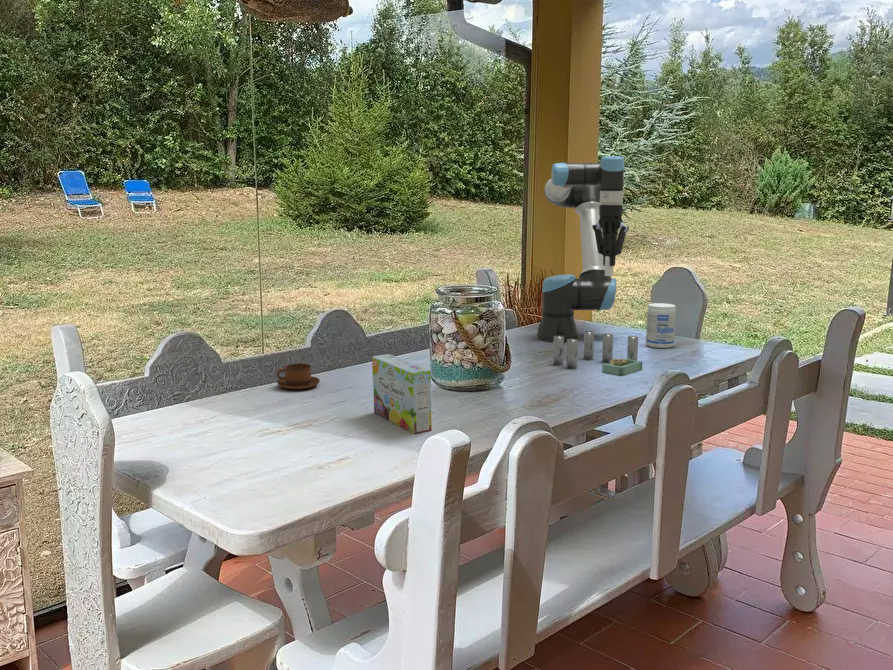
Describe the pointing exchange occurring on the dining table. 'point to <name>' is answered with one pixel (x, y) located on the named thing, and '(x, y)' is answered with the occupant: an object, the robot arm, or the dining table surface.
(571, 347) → the spacers
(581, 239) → the robot arm
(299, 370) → the cup and saucer
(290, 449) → the dining table surface
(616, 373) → the tray
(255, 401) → the dining table surface
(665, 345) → the supplement tub
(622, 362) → the nut
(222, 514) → the dining table surface
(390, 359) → the snack box
